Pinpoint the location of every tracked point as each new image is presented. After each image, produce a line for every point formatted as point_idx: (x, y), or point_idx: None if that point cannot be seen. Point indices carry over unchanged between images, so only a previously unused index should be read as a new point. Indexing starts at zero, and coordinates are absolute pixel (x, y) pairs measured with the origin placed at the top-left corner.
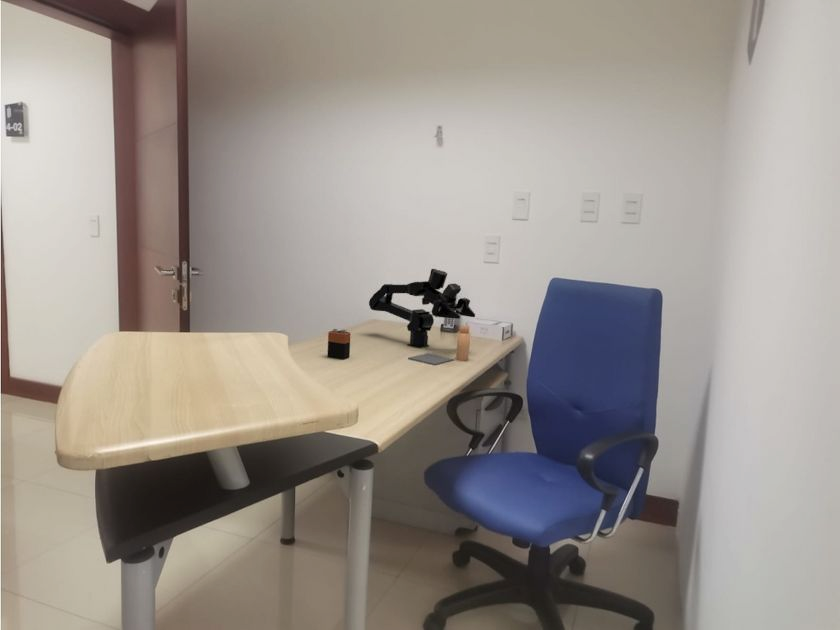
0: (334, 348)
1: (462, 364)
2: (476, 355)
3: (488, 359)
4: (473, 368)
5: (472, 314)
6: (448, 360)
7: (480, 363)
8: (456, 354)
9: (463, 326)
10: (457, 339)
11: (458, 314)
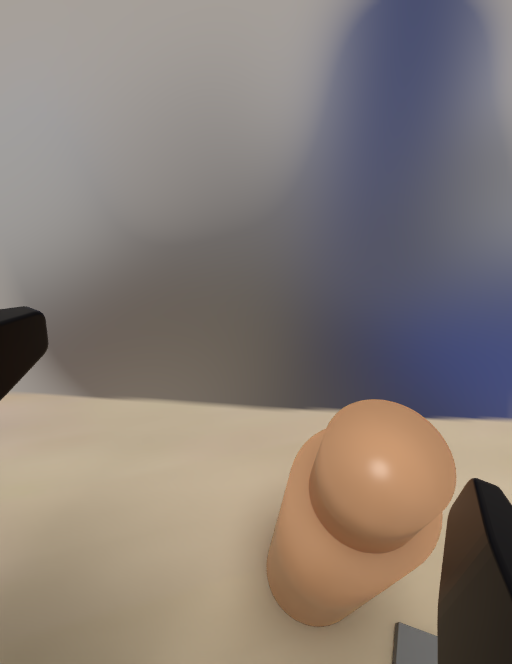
0: None
1: None
2: (112, 503)
3: (202, 411)
4: (490, 439)
5: (5, 348)
6: None
7: None
8: (350, 613)
9: (438, 462)
10: (381, 591)
11: (490, 518)
